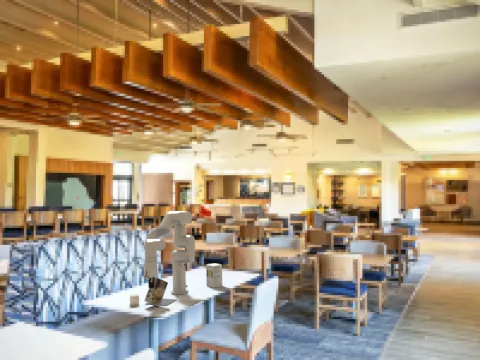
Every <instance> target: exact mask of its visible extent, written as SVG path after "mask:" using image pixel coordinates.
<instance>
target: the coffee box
mask: <svg viewBox="0 0 480 360" xmlns="http://www.w3.org/2000/svg"><path fill="white" fill-rule="evenodd" d="M168 284H169V282H168V281H166V280H164V279H162V278H158V277H156V278H155V280H154V288H149V287H148V290H147V293H146V295H145V298H144V302H146V303H150V304H152V305H151V306H157V307H160V304H161V301H162V299H164V295H165V293H166V290H167V287H168Z"/></svg>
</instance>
